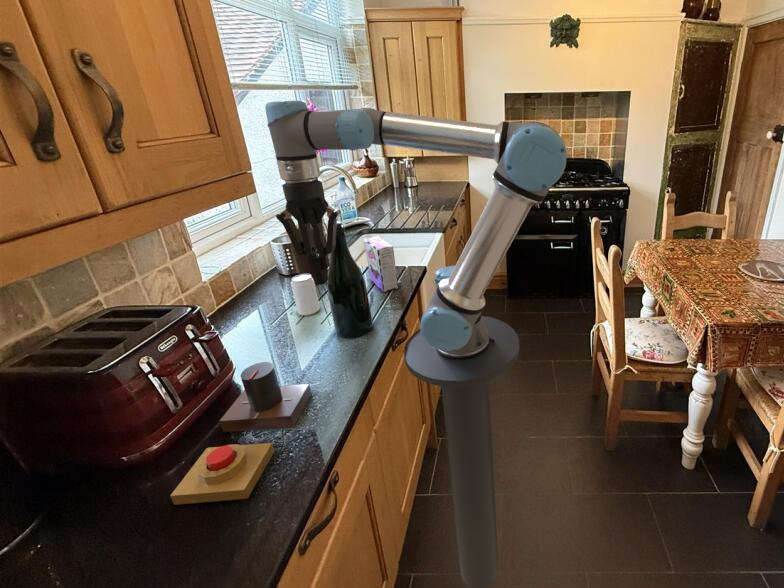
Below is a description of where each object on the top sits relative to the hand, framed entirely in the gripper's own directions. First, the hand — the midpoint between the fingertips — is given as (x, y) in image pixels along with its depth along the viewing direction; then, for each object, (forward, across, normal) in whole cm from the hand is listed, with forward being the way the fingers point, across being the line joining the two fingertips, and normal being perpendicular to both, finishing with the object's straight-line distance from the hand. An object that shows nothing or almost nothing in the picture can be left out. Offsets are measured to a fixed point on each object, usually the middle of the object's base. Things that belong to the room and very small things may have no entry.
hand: (323, 281), depth 92 cm
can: (+25, -20, +32) cm, 45 cm away
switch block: (+24, -11, -30) cm, 40 cm away
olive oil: (+25, -27, +57) cm, 68 cm away
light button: (+21, -11, -30) cm, 38 cm away
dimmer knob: (+21, -11, -14) cm, 28 cm away
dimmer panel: (+24, -11, -14) cm, 30 cm away
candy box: (+25, 0, +50) cm, 56 cm away
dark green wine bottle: (+25, -2, +19) cm, 31 cm away
